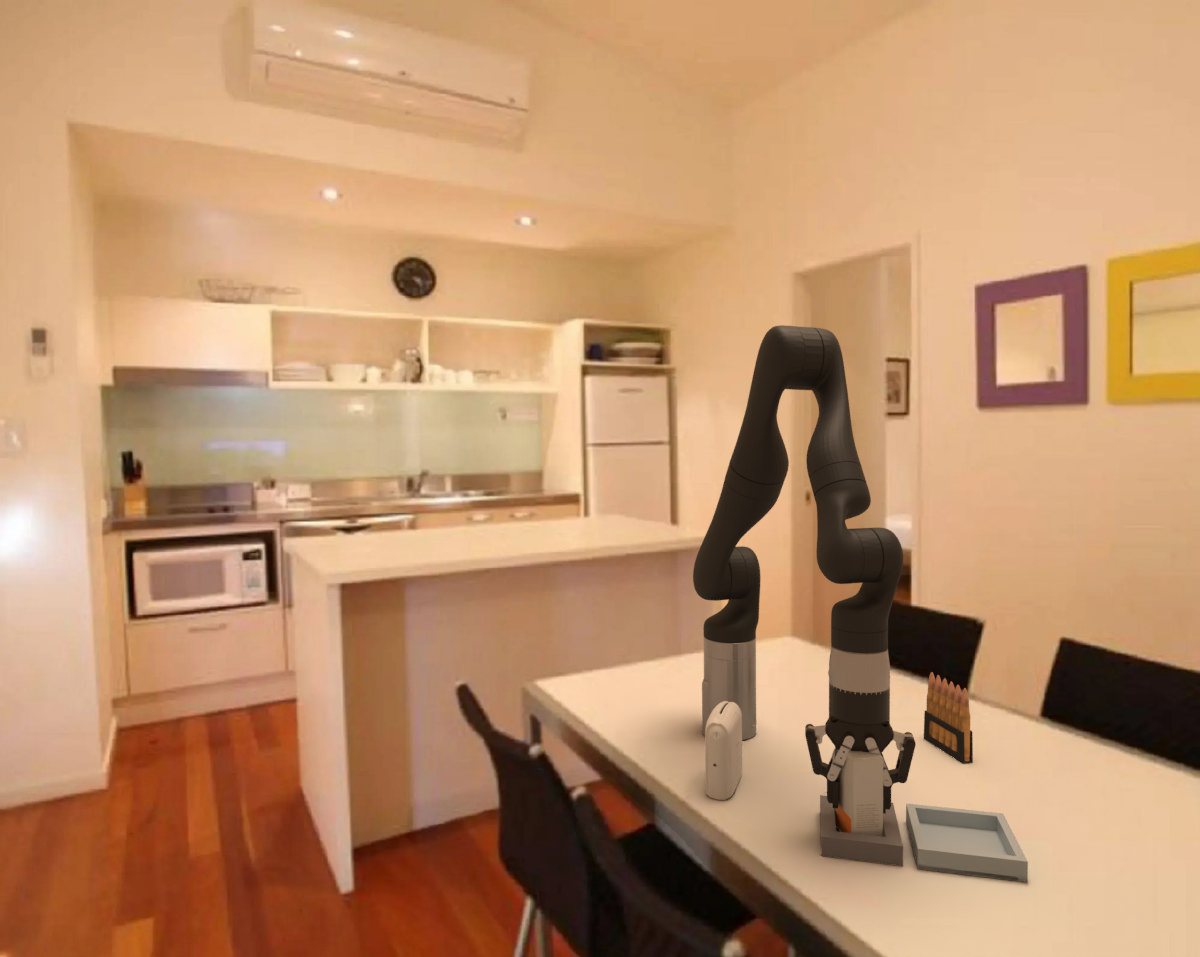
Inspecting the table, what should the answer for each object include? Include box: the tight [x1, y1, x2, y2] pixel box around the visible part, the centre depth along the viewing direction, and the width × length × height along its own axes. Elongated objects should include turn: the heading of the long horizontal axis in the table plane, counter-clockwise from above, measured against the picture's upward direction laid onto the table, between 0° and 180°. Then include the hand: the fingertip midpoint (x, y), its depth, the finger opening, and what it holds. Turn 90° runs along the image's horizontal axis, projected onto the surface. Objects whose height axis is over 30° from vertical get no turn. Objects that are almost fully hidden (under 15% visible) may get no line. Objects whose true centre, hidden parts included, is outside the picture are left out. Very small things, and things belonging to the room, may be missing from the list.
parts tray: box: [905, 803, 1029, 883], centre depth 98 cm, size 12×12×2 cm
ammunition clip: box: [923, 671, 974, 764], centre depth 128 cm, size 11×2×12 cm, turn 10°
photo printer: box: [704, 701, 743, 801], centre depth 117 cm, size 10×4×12 cm, turn 158°
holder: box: [819, 794, 904, 867], centre depth 101 cm, size 10×12×2 cm
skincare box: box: [835, 750, 884, 837], centre depth 101 cm, size 6×4×12 cm
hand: (858, 807), depth 101 cm, fingers closed on skincare box, 5 cm apart
